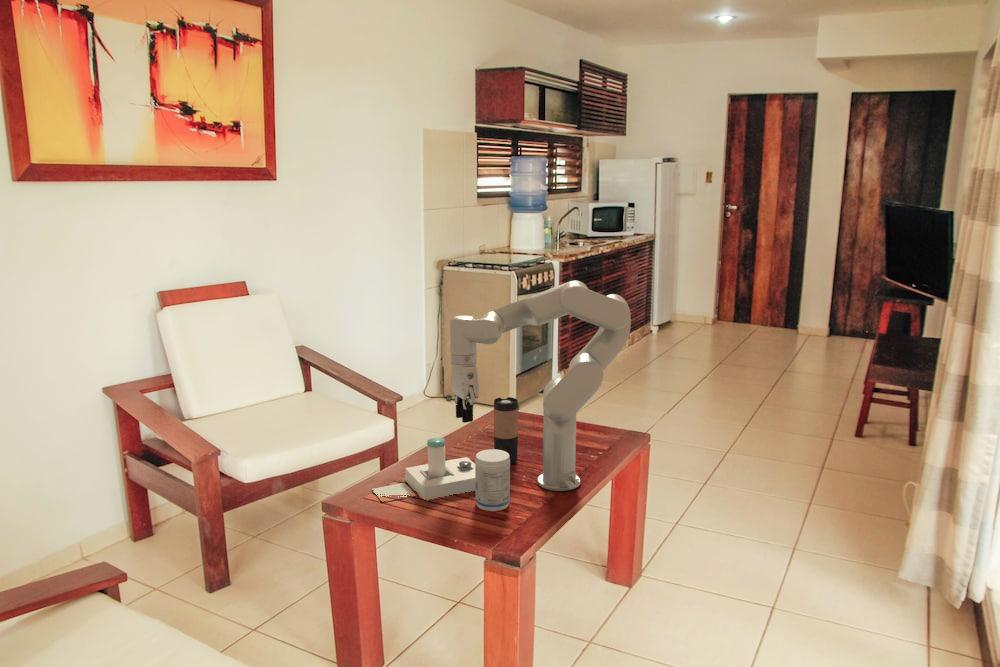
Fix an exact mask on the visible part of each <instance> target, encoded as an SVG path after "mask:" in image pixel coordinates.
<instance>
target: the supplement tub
mask: <svg viewBox="0 0 1000 667" xmlns="http://www.w3.org/2000/svg"><path fill="white" fill-rule="evenodd" d="M474 463H475V490H476V491H475V505H476V507H478V509H480V510H482V511H486V512H500V511H502V510H505V509H507V508H508V507H509V505H510V503H511V464H510V456H509V454H508V453H507V452H505V451H502V450H497V449H493V448H492V449H483V450H481V451H478V452H477V453H476V454H475V459H474Z"/></svg>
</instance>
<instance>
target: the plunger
mask: <svg viewBox="0 0 1000 667" xmlns="http://www.w3.org/2000/svg"><path fill="white" fill-rule="evenodd" d="M459 466H460V470H461V471H467V470H470V466H471V462H468V461H462V462H460V463H459Z"/></svg>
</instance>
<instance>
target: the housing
mask: <svg viewBox="0 0 1000 667" xmlns="http://www.w3.org/2000/svg"><path fill="white" fill-rule="evenodd" d="M462 461H468V462H471V466H470V470H467V471H461V470H460V466H459V463H460V462H462ZM445 472H446V476H445V477H440V478H434V479H431V478H430V477H429V476H428V463H426V464H419V465H415V466H409V467H405V468H404V478H405V480H406V481H407V482H408V483H407V482H406V481H405V482H406V483H407V484H408V485H409V486H410V488H412V489H413V491H414V492H415V491H416V492H417V493H418V494H419V495H420V496H421V497H422V498H423V499H424V500H425V499H431V498H437V497H442V496H447V497H450V496H449V495H452V496H454V495H453V494H457V495H460V494H459V493H462V494H466V493H465V492H467V493H471V491H472V492H476V490H475V462H473V461H472V460H471V459H470V458H469V457H467V456H466V457H461V458H454V459H449V460H445ZM416 492H415V493H416ZM417 493H416V494H417ZM418 494H417V495H418ZM419 495H418V496H419ZM420 496H419V497H420ZM421 497H420V498H421ZM422 498H421V499H422ZM442 498H443V497H442ZM423 499H422V500H423ZM437 499H438V498H437ZM424 500H423V501H424Z"/></svg>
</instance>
